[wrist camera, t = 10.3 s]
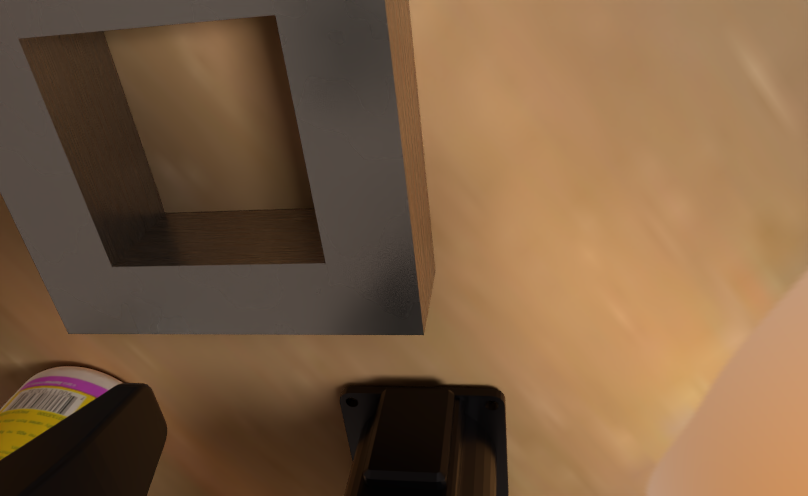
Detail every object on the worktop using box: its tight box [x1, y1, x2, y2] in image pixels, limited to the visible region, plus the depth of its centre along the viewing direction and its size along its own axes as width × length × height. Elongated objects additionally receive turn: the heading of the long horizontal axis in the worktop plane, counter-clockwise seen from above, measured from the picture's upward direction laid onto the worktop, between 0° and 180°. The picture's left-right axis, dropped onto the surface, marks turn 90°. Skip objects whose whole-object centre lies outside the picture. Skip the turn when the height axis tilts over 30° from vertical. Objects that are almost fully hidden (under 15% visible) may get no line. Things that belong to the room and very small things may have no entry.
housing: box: [0, 0, 435, 335], centre depth 18 cm, size 12×12×4 cm
